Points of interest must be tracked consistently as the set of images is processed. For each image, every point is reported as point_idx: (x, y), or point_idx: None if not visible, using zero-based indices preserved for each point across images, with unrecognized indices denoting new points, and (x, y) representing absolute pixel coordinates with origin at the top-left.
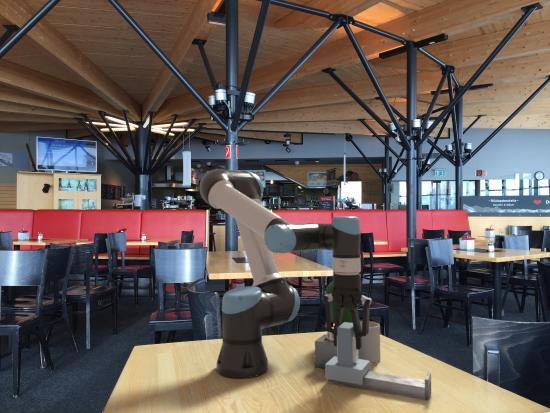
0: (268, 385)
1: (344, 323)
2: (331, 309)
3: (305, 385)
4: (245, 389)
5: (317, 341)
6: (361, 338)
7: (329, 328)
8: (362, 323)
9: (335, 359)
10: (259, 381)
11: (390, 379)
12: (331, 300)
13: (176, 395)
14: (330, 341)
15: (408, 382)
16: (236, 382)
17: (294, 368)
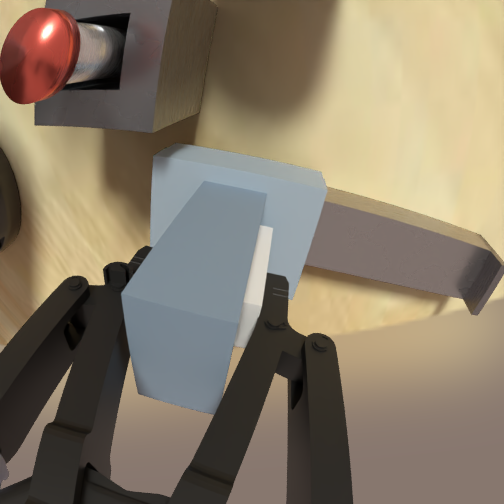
0: (62, 265)
1: (138, 329)
2: (20, 402)
3: (128, 249)
4: (45, 289)
5: (44, 125)
6: (286, 316)
7: (84, 331)
8: (290, 436)
9: (168, 208)
10: (38, 248)
11: (389, 264)
12: (5, 473)
13: (5, 316)
14: (91, 100)
15: (436, 276)
16: (16, 261)
17: (54, 133)
